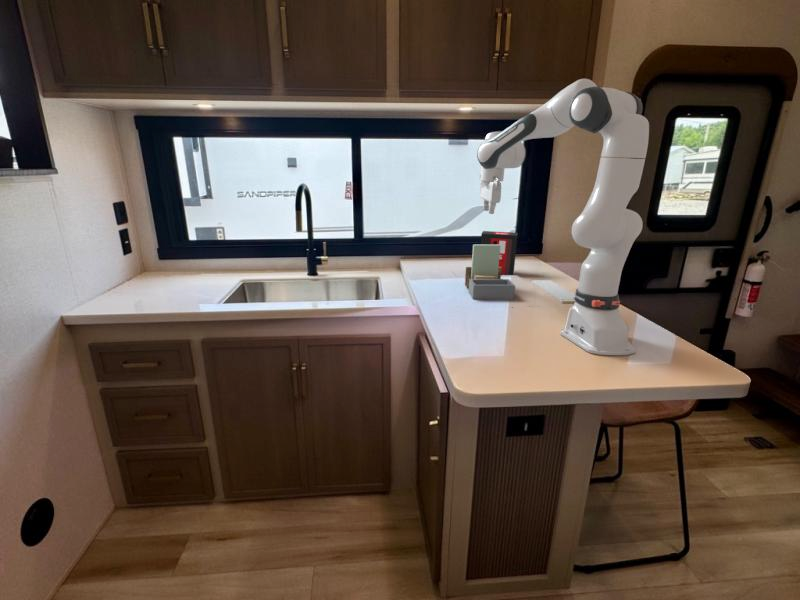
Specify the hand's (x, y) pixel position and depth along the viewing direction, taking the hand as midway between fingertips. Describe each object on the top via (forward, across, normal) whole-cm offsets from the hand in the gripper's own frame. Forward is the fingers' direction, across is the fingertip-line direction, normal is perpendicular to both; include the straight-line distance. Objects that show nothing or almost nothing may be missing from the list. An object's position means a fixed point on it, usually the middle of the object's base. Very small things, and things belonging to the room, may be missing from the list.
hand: (488, 212), depth 165 cm
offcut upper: (+28, -5, 0) cm, 29 cm away
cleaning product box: (+34, +29, -14) cm, 46 cm away
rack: (+33, -2, -1) cm, 33 cm away
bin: (+33, -13, -1) cm, 35 cm away
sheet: (+31, 0, -1) cm, 31 cm away
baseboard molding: (+33, -2, -33) cm, 47 cm away
